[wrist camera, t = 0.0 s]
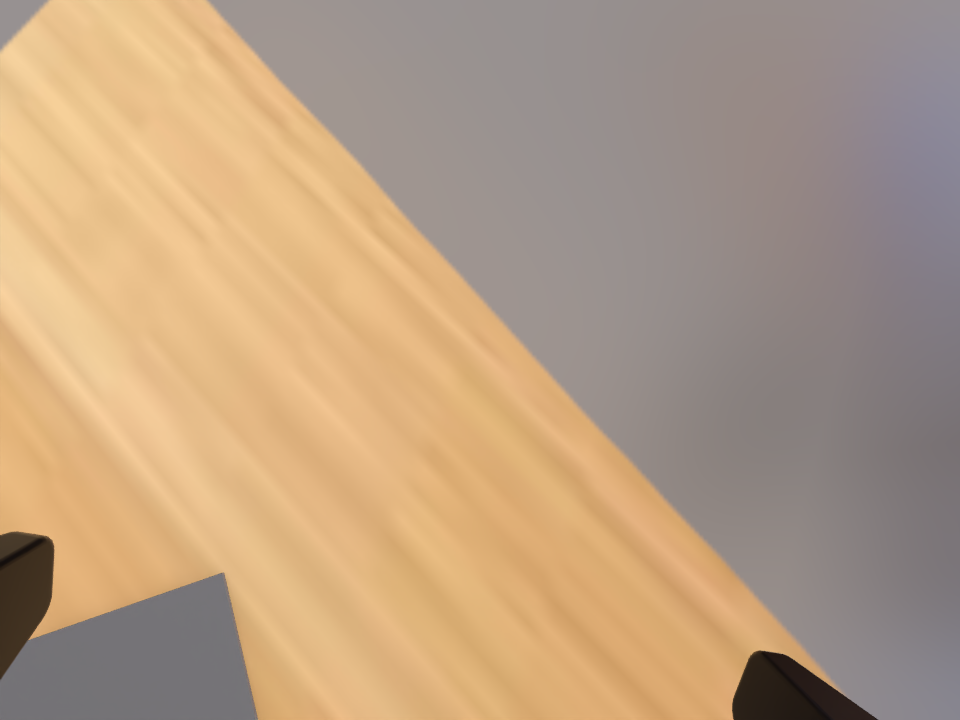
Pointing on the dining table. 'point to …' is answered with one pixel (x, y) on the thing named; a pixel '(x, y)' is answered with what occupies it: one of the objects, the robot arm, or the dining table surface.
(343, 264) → the dining table surface
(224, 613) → the rubber mat
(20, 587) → the robot arm
